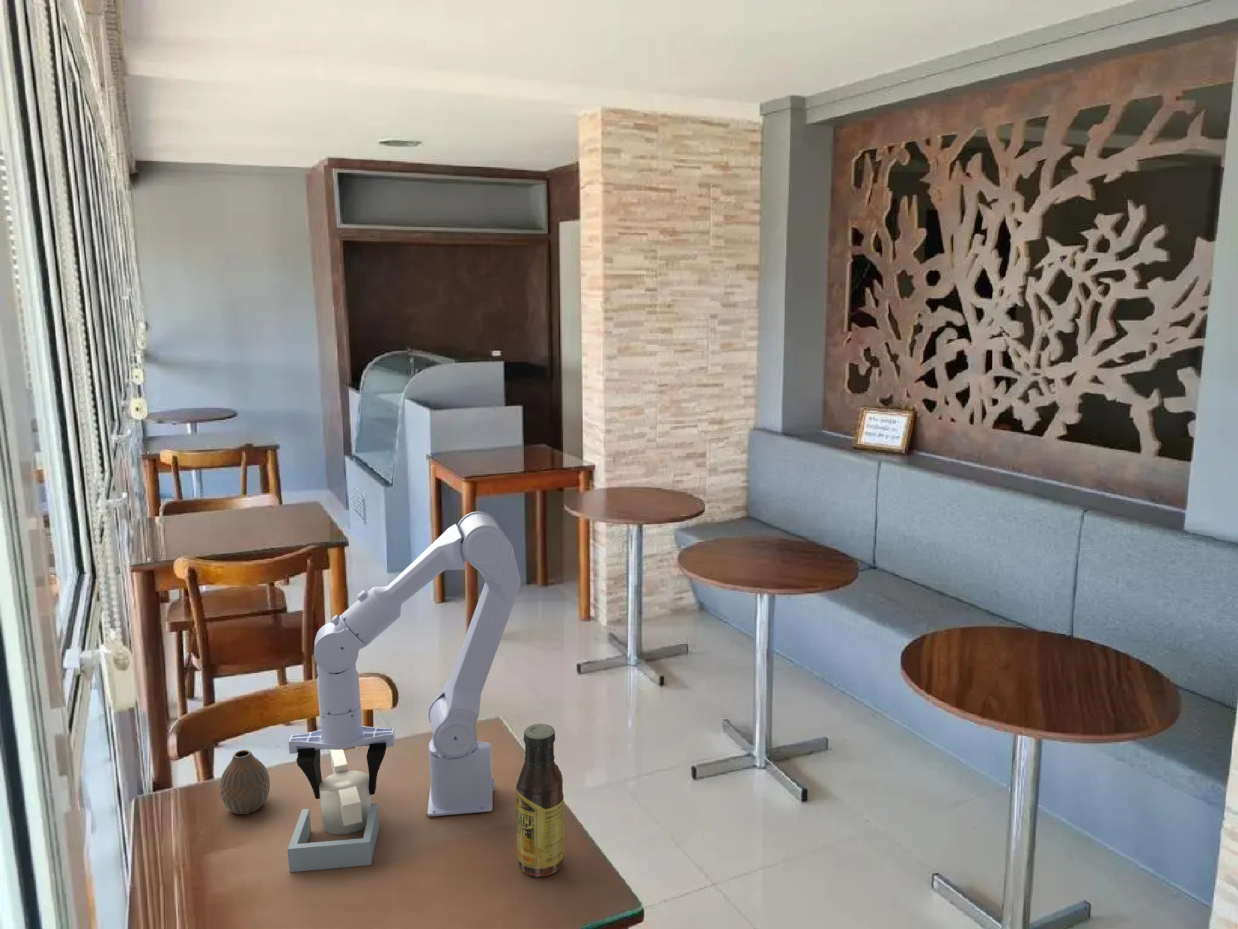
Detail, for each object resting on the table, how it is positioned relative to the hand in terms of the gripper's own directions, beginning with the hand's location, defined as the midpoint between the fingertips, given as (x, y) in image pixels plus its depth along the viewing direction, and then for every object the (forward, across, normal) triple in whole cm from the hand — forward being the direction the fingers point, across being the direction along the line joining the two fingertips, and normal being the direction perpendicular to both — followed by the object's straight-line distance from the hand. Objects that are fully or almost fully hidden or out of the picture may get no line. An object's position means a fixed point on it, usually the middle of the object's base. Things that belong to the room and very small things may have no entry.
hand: (346, 793), depth 135 cm
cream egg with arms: (+4, 0, +1) cm, 4 cm away
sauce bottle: (+4, -28, +16) cm, 32 cm away
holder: (+4, 0, +7) cm, 8 cm away
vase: (+4, +16, -5) cm, 17 cm away
